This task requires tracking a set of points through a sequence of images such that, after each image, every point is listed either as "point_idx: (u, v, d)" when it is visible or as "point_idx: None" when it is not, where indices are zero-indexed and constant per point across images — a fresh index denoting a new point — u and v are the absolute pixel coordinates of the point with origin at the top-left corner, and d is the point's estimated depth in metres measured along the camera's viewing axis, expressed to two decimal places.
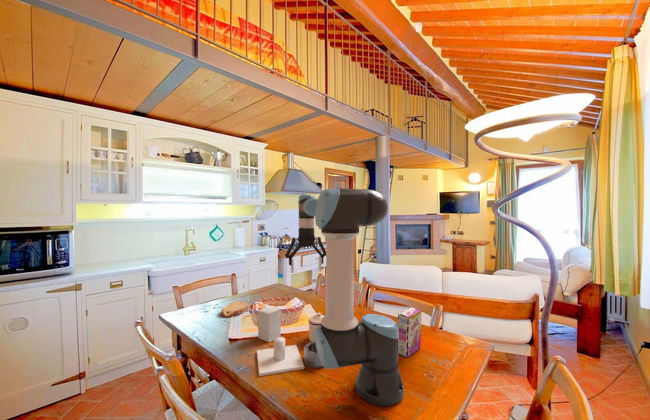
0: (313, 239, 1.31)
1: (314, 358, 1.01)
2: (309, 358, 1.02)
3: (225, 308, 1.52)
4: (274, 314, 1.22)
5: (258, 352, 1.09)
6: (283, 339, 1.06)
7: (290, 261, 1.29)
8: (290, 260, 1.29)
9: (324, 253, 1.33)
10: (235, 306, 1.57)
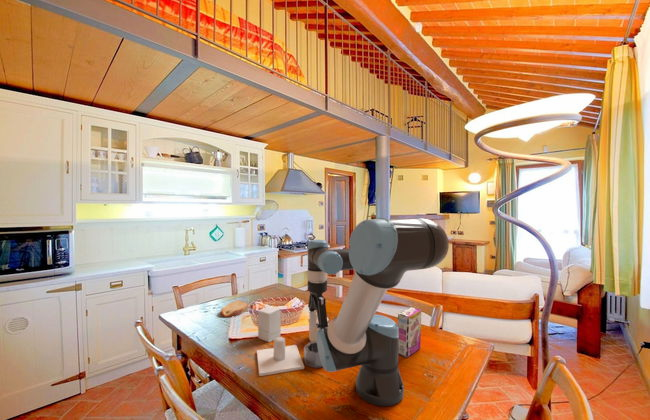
0: (316, 298, 1.02)
1: (314, 358, 1.01)
2: (309, 358, 1.02)
3: (224, 308, 1.52)
4: (274, 314, 1.22)
5: (258, 352, 1.09)
6: (283, 339, 1.06)
7: None
8: None
9: (320, 323, 0.97)
10: (235, 306, 1.57)
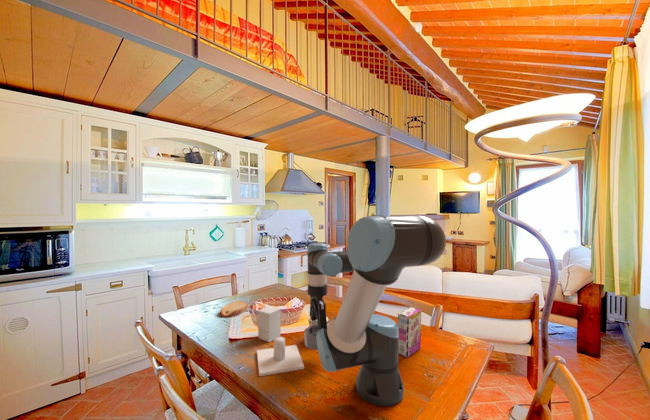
0: (317, 302, 1.02)
1: (315, 340, 1.00)
2: (310, 340, 1.01)
3: (223, 308, 1.52)
4: (274, 314, 1.22)
5: (258, 352, 1.09)
6: (283, 339, 1.06)
7: None
8: None
9: (319, 327, 0.98)
10: (234, 306, 1.57)
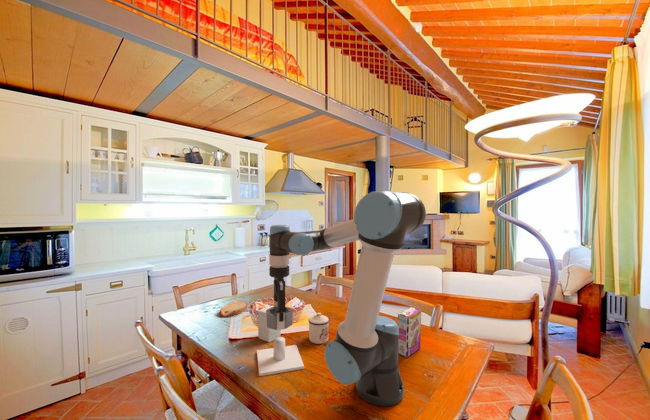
0: (277, 283, 1.02)
1: (274, 320, 1.01)
2: (269, 320, 1.02)
3: (223, 308, 1.52)
4: None
5: (258, 352, 1.09)
6: (283, 339, 1.06)
7: None
8: None
9: (278, 308, 0.98)
10: (234, 306, 1.58)
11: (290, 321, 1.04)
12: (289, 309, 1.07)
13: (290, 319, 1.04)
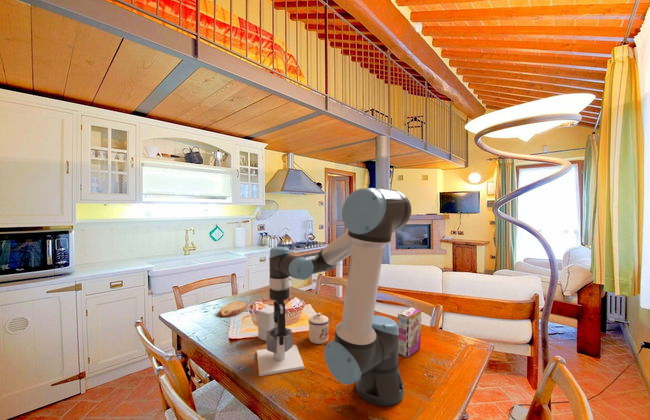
0: (277, 306, 1.02)
1: (274, 343, 1.01)
2: (270, 343, 1.02)
3: (223, 308, 1.52)
4: None
5: (258, 352, 1.09)
6: None
7: None
8: None
9: (278, 332, 0.98)
10: (233, 306, 1.58)
11: (290, 344, 1.04)
12: (289, 331, 1.07)
13: (290, 342, 1.04)
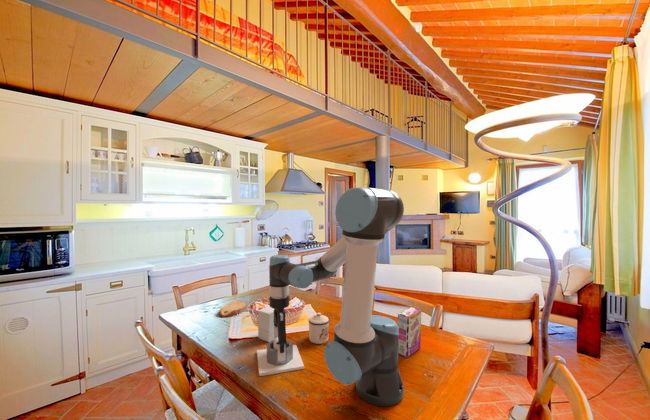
0: (277, 314, 1.02)
1: (274, 355, 1.01)
2: (270, 355, 1.02)
3: (223, 308, 1.52)
4: None
5: (258, 352, 1.09)
6: None
7: None
8: None
9: (278, 340, 0.97)
10: (233, 306, 1.58)
11: (290, 356, 1.04)
12: (289, 343, 1.07)
13: (290, 354, 1.04)
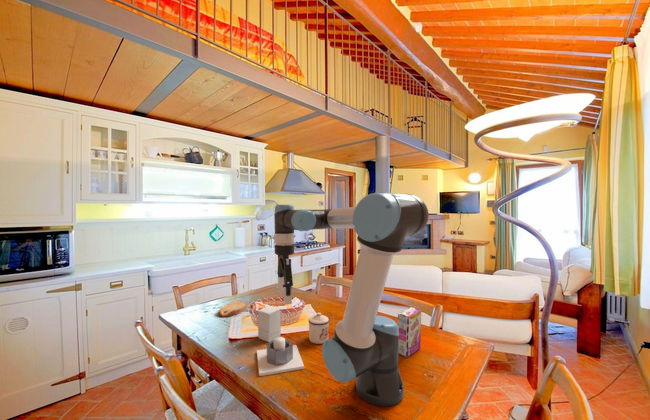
0: (283, 260, 1.04)
1: (274, 355, 1.01)
2: (270, 355, 1.02)
3: (222, 308, 1.52)
4: (274, 314, 1.22)
5: (258, 352, 1.09)
6: (283, 339, 1.06)
7: None
8: None
9: (285, 282, 0.99)
10: (233, 306, 1.58)
11: (290, 356, 1.04)
12: (289, 343, 1.07)
13: (290, 354, 1.04)
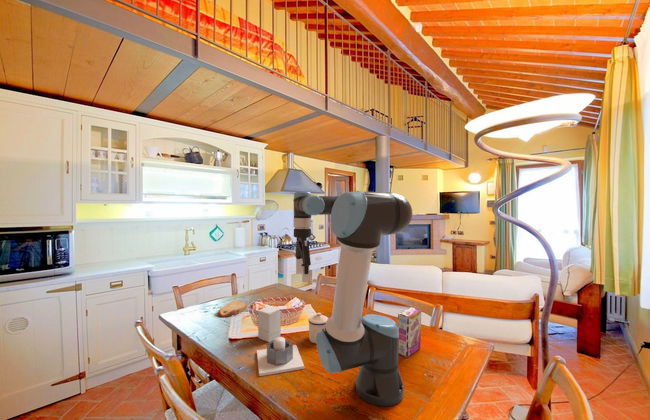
0: (301, 242, 1.14)
1: (274, 355, 1.01)
2: (270, 355, 1.02)
3: (222, 308, 1.52)
4: (274, 314, 1.22)
5: (258, 352, 1.09)
6: (283, 339, 1.06)
7: None
8: None
9: (303, 261, 1.09)
10: (233, 306, 1.58)
11: (290, 356, 1.04)
12: (289, 343, 1.07)
13: (290, 354, 1.04)
